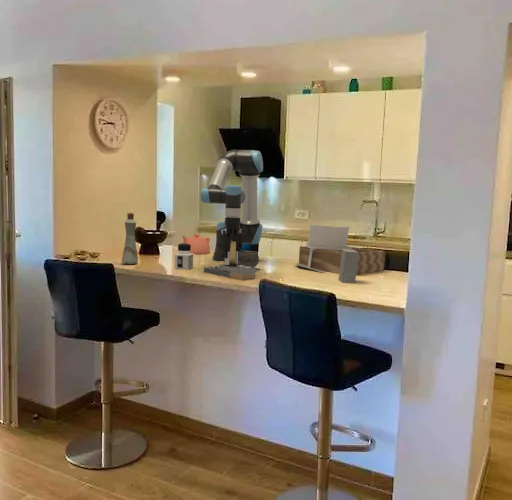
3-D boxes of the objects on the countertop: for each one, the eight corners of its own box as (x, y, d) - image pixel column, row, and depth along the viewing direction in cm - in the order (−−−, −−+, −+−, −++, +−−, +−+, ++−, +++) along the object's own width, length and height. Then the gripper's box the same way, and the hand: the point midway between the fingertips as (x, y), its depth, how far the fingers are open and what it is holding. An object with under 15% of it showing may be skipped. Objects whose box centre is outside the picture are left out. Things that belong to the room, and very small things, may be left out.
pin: (237, 269, 282) (238, 241, 280) (230, 270, 279) (231, 241, 277) (231, 268, 285) (232, 240, 283) (224, 269, 282) (225, 241, 280)
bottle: (117, 263, 309) (118, 211, 306) (127, 262, 318) (128, 211, 315) (131, 265, 306) (132, 212, 303) (141, 263, 314) (142, 212, 312)
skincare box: (338, 281, 278) (339, 248, 276) (352, 281, 279) (354, 249, 277) (342, 284, 270) (344, 250, 268) (357, 284, 270) (359, 251, 269)
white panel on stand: (326, 261, 337) (331, 222, 332) (354, 269, 321) (360, 228, 317) (293, 263, 318) (298, 222, 314) (321, 272, 302) (327, 229, 298)
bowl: (261, 269, 308) (262, 251, 307) (252, 273, 293) (253, 253, 292) (237, 267, 312) (238, 249, 311) (227, 271, 298) (227, 251, 297)
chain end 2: (231, 274, 288) (232, 262, 287) (255, 279, 275) (256, 266, 274) (218, 275, 282) (219, 263, 282) (242, 280, 269) (243, 267, 268)
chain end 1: (216, 270, 297) (216, 264, 296) (242, 276, 282) (243, 269, 281) (203, 272, 291) (204, 265, 291) (229, 277, 276) (229, 270, 276)
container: (188, 269, 298) (189, 244, 296) (174, 268, 299) (174, 243, 298) (193, 267, 305) (193, 243, 304) (179, 266, 307) (179, 242, 305)
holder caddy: (332, 264, 341) (333, 244, 340) (383, 272, 314) (385, 251, 313) (298, 267, 321) (299, 246, 320) (350, 276, 294) (351, 253, 293)
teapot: (191, 257, 348) (191, 235, 347) (171, 255, 358) (172, 233, 357) (218, 255, 368) (218, 234, 367) (198, 252, 378) (199, 232, 377)
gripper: (241, 216, 288) (239, 262, 290) (213, 216, 276) (212, 264, 278) (251, 217, 282) (249, 264, 285) (223, 217, 270) (222, 266, 273)
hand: (231, 264), depth 281 cm, fingers open, 5 cm apart
